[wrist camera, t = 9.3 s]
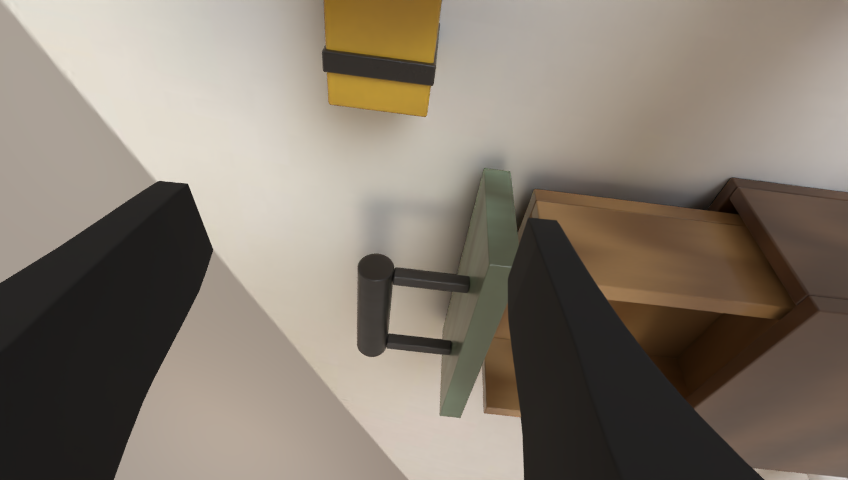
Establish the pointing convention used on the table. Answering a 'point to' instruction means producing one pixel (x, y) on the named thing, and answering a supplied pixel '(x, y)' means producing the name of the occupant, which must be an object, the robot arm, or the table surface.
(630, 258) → the drawer
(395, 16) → the pencil bundle
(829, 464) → the cabinet
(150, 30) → the table surface
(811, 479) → the lightbulb
